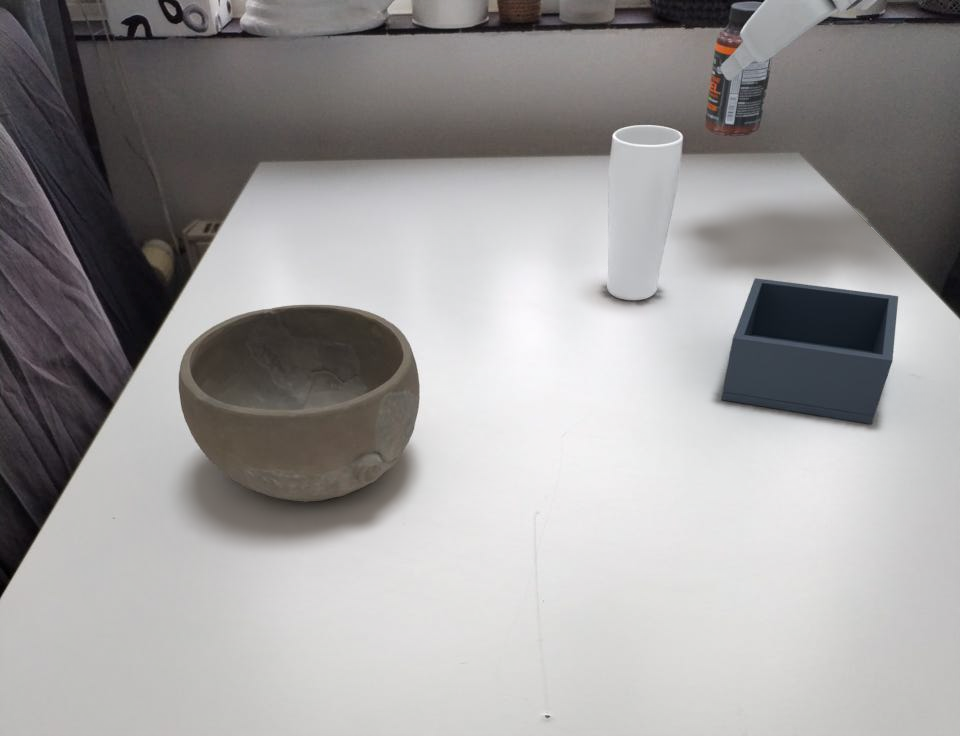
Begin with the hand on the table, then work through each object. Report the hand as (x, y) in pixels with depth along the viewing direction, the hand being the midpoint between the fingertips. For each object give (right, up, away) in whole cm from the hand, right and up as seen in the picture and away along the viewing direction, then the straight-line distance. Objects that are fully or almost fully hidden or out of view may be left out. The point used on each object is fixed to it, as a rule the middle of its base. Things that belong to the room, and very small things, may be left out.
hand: (735, 65), depth 93 cm
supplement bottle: (+1, -5, +4) cm, 6 cm away
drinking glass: (-11, -24, +1) cm, 26 cm away
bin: (+2, -37, -13) cm, 39 cm away
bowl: (-40, -46, -21) cm, 65 cm away
